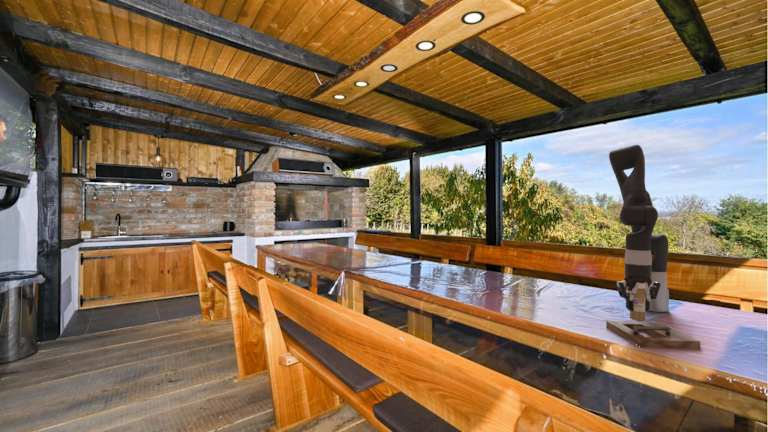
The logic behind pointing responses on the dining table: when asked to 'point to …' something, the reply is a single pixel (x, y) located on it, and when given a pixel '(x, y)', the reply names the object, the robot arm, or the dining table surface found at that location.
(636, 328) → the hook rod
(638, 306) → the sprinkles bottle
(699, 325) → the dining table surface
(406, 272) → the dining table surface
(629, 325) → the flat wooden frame
